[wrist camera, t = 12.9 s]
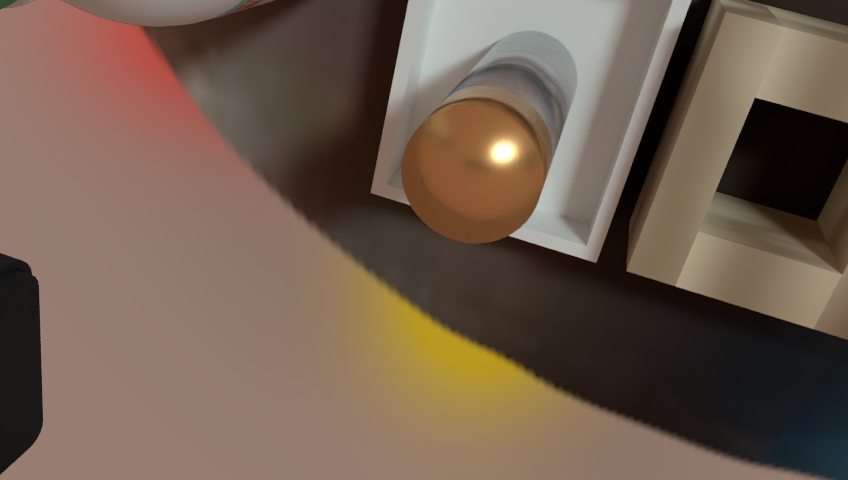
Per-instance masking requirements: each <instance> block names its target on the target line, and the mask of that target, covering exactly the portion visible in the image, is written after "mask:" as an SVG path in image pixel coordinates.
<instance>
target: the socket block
mask: <svg viewBox="0 0 848 480" xmlns="http://www.w3.org/2000/svg"><path fill="white" fill-rule="evenodd" d="M755 98H759V99H762V100H766V101H770V102H773V103H777V104H781V105H784V106H788V107H792V108H795V109H799V110H803V111H806V112H810V113H814V114H817V115H821V116H825V117H828V118H832V119H836V120H839V121H843V122H846V123H848V26H845V25H841V24H837V23H833V22H829V21H826V20H822V19H818V18H814V17H810V16H806V15H802V14H798V13H794V12H791V11H787V10H783V9H779V8H775V7H771V6H767V5H763V4H759V3H756V2H752V1H748V0H712V2H711V5H710V7H709V10H708V13H707V15H706V18H705V21H704V23H703V26H702V29H701V31H700V34H699V37H698V39H697V42H696V45H695V47H694V50H693V53H692V55H691V58H690V61H689V64H688V66H687V69H686V72H685V74H684V77H683V80H682V82H681V85H680V88H679V90H678V93H677V96H676V98H675V101H674V104H673V106H672V109H671V112H670V114H669V117H668V120H667V122H666V125H665V128H664V130H663V133H662V136H661V138H660V141H659V144H658V146H657V149H656V152H655V155H654V157H653V160H652V163H651V165H650V168H649V171H648V173H647V176H646V179H645V181H644V184H643V187H642V189H641V192H640V195H639V197H638V200H637V203H636V205H635V208H634V211H633V213H632V216H631V219H630V223H629V238H628V254H627V270H626V271H628V272H631V273H634V274H637V275H641V276H644V277H647V278H650V279H653V280H657V281H660V282H663V283H666V284H670V285H673V286H676V287H679V288H682V289H686V290H689V291H692V292H695V293H699V294H702V295H705V296H708V297H711V298H715V299H718V300H721V301H724V302H728V303H731V304H734V305H737V306H741V307H744V308H747V309H750V310H753V311H757V312H760V313H763V314H766V315H770V316H773V317H776V318H779V319H782V320H786V321H789V322H792V323H795V324H799V325H802V326H805V327H808V328H811V329H815V330H818V331H821V332H824V333H828V334H831V335H834V336H837V337H840V338H844V339H847V340H848V159H847V161H846V163H845V165H844V167H843V169H842V171H841V173H840V175H839V177H838V179H837V181H836V183H835V185H834V187H833V189H832V191H831V193H830V195H829V197H828V199H827V201H826V203H825V205H824V207H823V209H822V211H821V213H820V215H819V217H818V219H817V221H815V220H811V219H808V218H804V217H801V216H798V215H794V214H791V213H787V212H784V211H780V210H777V209H774V208H770V207H767V206H763V205H760V204H756V203H753V202H750V201H746V200H743V199H739V198H736V197H732V196H729V195H726V194H722V193H719V192H715V191H716V189H717V186H718V184H719V181H720V179H721V177H722V174H723V172H724V170H725V167H726V165H727V162H728V160H729V158H730V155H731V153H732V151H733V148H734V146H735V144H736V141H737V139H738V136H739V134H740V132H741V129H742V127H743V125H744V122H745V120H746V118H747V115H748V113H749V110H750V108H751V106H752V103H753V101H754V99H755Z"/></svg>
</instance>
